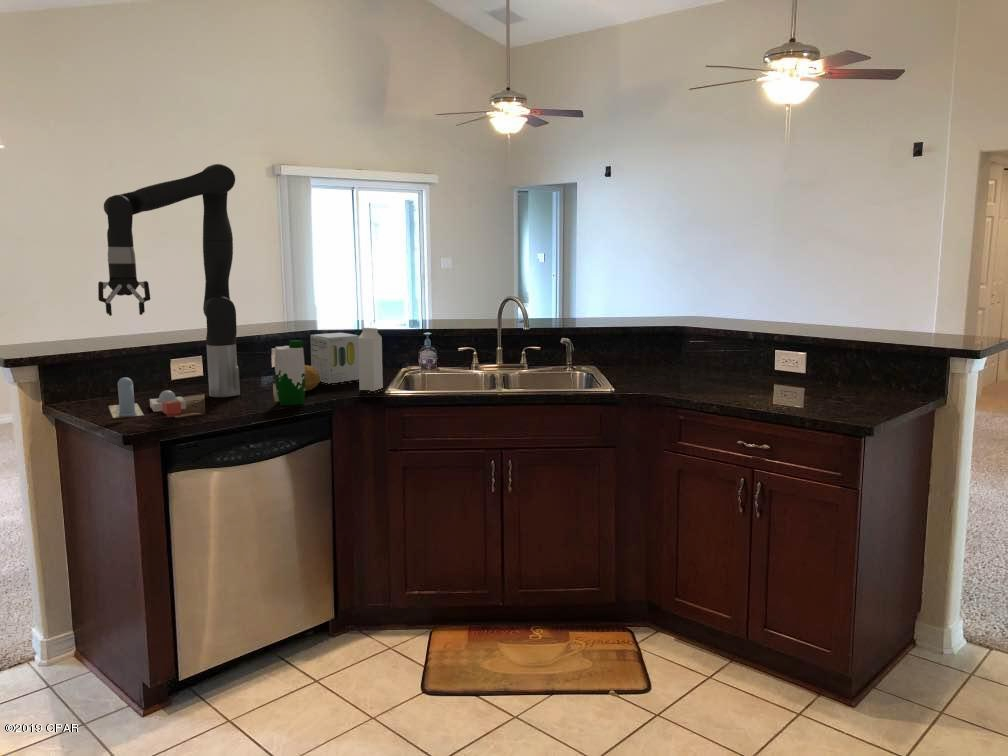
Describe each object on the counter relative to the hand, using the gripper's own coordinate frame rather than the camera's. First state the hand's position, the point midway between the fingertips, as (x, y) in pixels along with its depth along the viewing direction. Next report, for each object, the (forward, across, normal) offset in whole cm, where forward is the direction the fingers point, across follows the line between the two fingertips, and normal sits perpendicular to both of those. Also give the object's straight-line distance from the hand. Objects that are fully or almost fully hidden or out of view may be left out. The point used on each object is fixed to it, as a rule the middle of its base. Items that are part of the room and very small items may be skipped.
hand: (125, 315), depth 235 cm
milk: (+28, +74, -14) cm, 81 cm away
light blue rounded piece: (+28, +9, -15) cm, 33 cm away
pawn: (+27, -3, -21) cm, 35 cm away
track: (+28, -3, -14) cm, 31 cm away
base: (+28, +8, -15) cm, 33 cm away
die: (+28, +8, -24) cm, 38 cm away
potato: (+28, +53, -4) cm, 60 cm away
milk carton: (+28, +44, -22) cm, 57 cm away
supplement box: (+28, +70, +12) cm, 76 cm away
